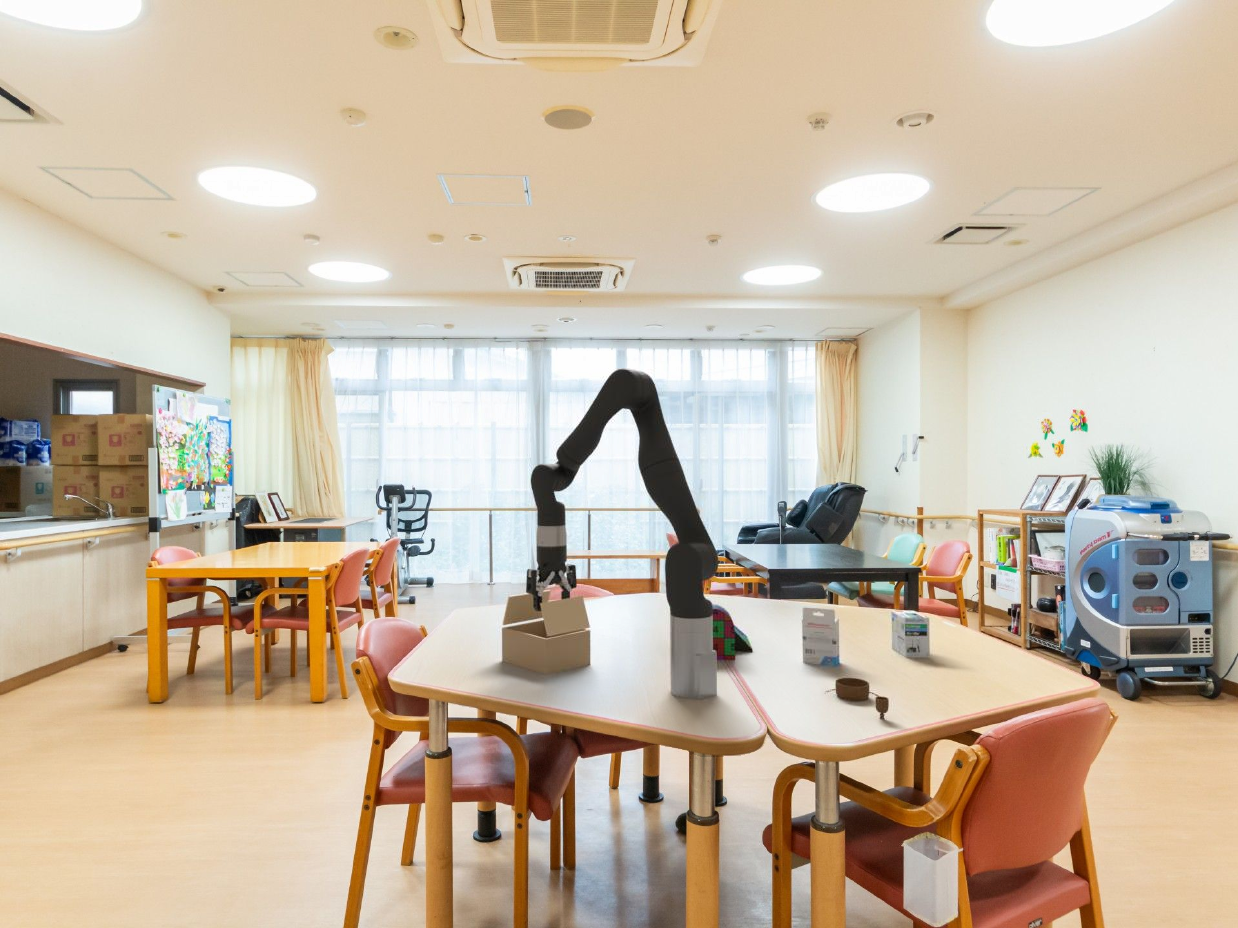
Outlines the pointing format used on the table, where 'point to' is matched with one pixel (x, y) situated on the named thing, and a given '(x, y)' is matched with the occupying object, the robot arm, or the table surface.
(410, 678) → the table surface
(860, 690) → the place setting
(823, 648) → the ink box
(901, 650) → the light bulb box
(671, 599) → the robot arm
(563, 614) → the near flap
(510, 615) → the far flap
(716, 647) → the toy block train
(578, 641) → the carton
